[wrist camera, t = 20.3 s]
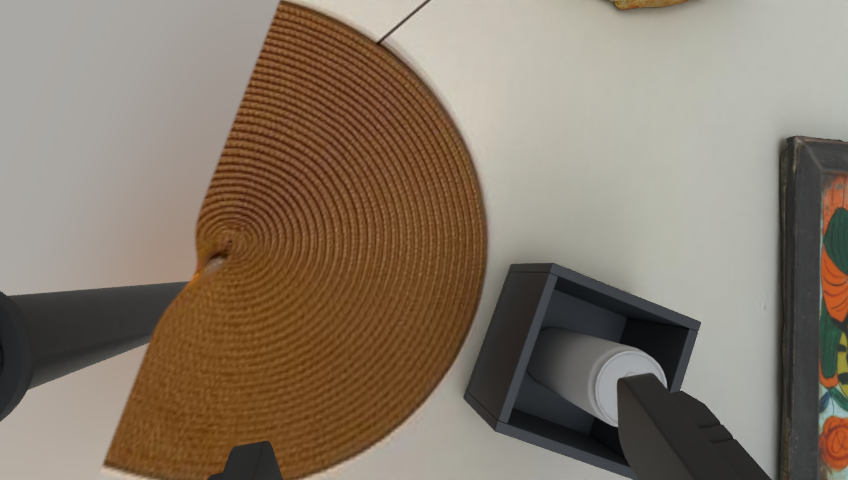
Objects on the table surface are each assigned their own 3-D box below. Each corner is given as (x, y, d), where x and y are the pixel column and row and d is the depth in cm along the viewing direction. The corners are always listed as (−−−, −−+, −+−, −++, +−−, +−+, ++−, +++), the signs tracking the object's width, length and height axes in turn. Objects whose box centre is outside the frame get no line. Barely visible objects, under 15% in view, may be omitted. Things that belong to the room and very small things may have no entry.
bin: (590, 443, 44) (650, 485, 35) (462, 398, 42) (494, 431, 34) (633, 312, 45) (701, 322, 36) (510, 263, 43) (552, 262, 35)
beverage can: (513, 374, 42) (582, 416, 30) (534, 317, 43) (608, 336, 31) (567, 394, 43) (655, 442, 31) (587, 337, 43) (680, 363, 32)
